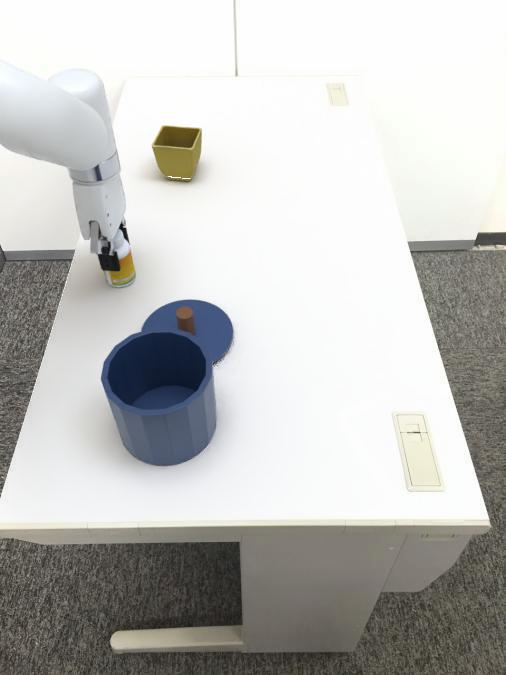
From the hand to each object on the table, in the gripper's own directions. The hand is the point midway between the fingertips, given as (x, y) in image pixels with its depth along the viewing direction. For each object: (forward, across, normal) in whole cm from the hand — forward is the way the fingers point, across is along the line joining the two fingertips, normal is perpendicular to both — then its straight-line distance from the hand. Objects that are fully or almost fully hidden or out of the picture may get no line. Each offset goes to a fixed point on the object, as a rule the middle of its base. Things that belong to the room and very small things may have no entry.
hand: (116, 257), depth 91 cm
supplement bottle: (+5, 0, 0) cm, 5 cm away
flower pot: (+5, -34, +5) cm, 35 cm away
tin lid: (+4, +13, +14) cm, 19 cm away
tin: (+5, +29, +14) cm, 32 cm away
